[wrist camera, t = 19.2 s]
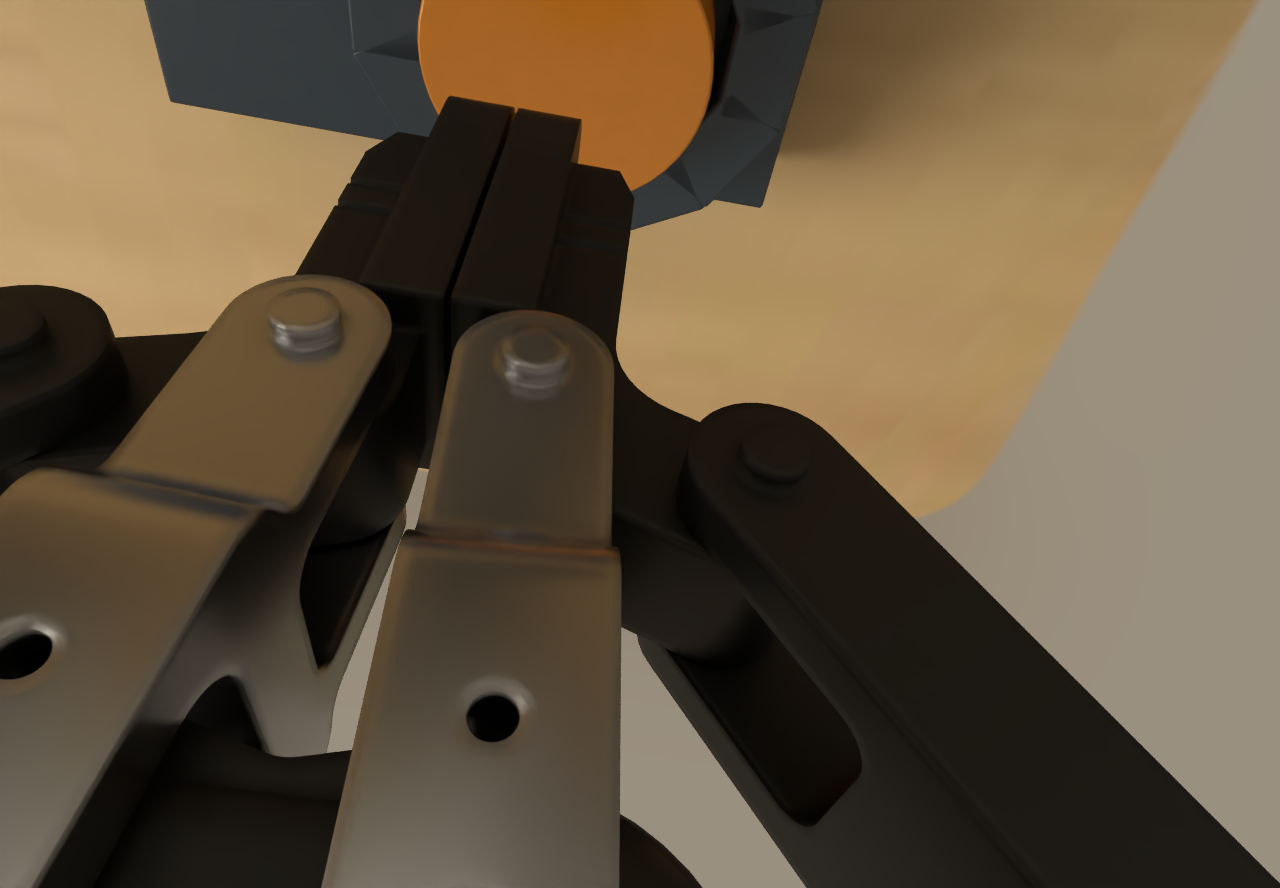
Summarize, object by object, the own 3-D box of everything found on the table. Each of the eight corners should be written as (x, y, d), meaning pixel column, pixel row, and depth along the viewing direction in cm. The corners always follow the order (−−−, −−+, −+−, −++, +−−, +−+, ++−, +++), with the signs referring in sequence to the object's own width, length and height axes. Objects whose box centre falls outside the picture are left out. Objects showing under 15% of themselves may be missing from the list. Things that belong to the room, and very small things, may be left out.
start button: (445, 127, 15) (421, 177, 14) (441, -165, 12) (409, -133, 11) (685, 171, 16) (682, 223, 14) (744, -103, 12) (746, -65, 11)
